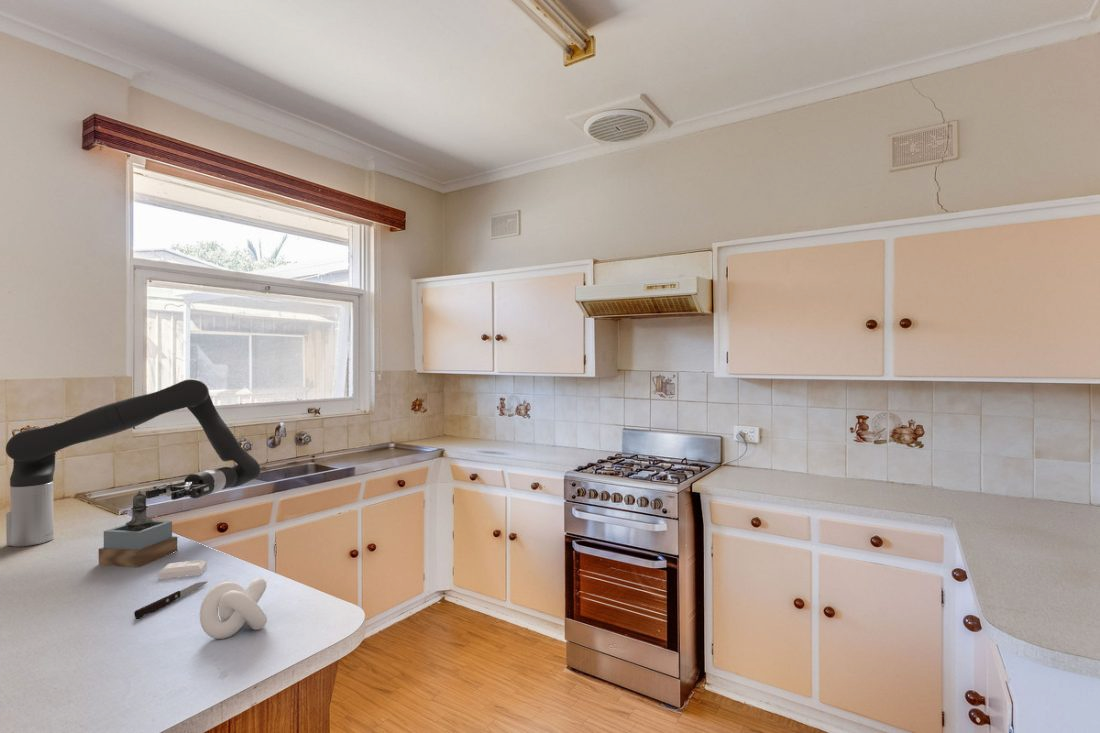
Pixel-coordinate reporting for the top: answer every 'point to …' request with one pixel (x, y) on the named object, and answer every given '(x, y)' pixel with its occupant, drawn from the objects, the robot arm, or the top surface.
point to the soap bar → (182, 569)
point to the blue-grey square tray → (137, 536)
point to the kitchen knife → (166, 600)
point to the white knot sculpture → (232, 608)
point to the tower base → (137, 554)
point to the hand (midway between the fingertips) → (159, 495)
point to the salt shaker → (139, 514)
